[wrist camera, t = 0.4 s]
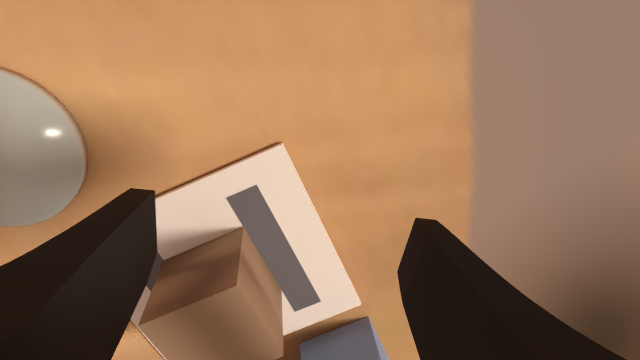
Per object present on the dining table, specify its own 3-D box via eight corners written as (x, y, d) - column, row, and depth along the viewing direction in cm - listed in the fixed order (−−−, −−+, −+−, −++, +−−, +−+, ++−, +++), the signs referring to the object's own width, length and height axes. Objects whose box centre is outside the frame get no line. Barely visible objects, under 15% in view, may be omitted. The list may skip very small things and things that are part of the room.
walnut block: (207, 319, 25) (194, 391, 21) (163, 260, 23) (137, 326, 19) (281, 289, 25) (283, 356, 20) (243, 226, 23) (236, 285, 18)
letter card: (180, 372, 27) (180, 377, 27) (64, 237, 22) (61, 240, 22) (360, 301, 26) (361, 304, 26) (282, 142, 21) (282, 144, 21)
